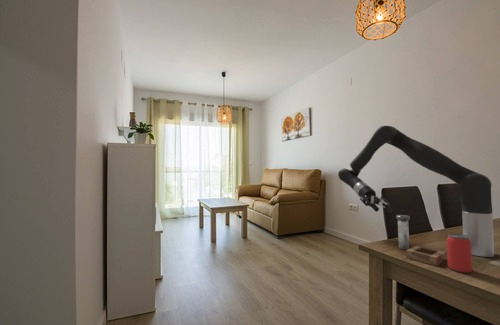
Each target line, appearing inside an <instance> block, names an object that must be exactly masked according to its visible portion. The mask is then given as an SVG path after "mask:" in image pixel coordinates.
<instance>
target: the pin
mask: <svg viewBox="0 0 500 325" xmlns="http://www.w3.org/2000/svg"><path fill="white" fill-rule="evenodd" d="M395 219H397V235H398V236H397V238H398V241H397V242H398V249H401V250H404V249H406V250H408V249H410V236H409V235H410V234H409V220H410V219H411V218H410V215H406V214H405V215H404V214H396V215H395ZM406 250H405V251H406Z"/></svg>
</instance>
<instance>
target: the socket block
mask: <svg viewBox="0 0 500 325" xmlns="http://www.w3.org/2000/svg"><path fill="white" fill-rule="evenodd" d="M405 254H406V257H405V258H406V259H409V260H412V261H413V260H414V261H417V262H421V263H424V264H428V265H430V266H435V267H437V266H439V265H440V264H442V263H444V262H445V261H446V260H447V251H443V250H440V249H439V250H438V249H435V248H434V249H433V248H430V247H426V246H421V245H415V246H413V247H411V248H410V247H409V249H408V250H405Z"/></svg>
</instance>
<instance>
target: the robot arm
mask: <svg viewBox="0 0 500 325" xmlns="http://www.w3.org/2000/svg"><path fill="white" fill-rule="evenodd" d="M385 144H388V145H390V146H392V147H395V148H396V149H398V150H400V151H401V152H403V153H404V155H406V156H407V157H408V158H409V159H410V160H411V161H413V162H415V163H416V164H417V165H420V166H421V167H424V168H425V169H427V170H429V171H431V172H434V173H435V174H439V175H440V176H442V177H443V176H444V177H446V178H448V179H449V180H451V181H453V182H454V183H456V184H457V185H458V186H459V188H460V189H459V190H460V191H459V192H460V204H461V213H462V214H461V215H462V235H466V236H468V237H469V239H470V241H471V248H472V256H473V255H474V256H477V257H485V258H491V257H492V258H493V257H494V256H495V242H494V240H495V239H494V220H493V219H494V218H493V204H492V201H493V200H492V181H491V180H490V178H489V177H487V176H486V175H484V174H481V173H479V172H476V171H474V170H471V169H469V168H467V167H465V166H463V165H461V164H459V163H457V161H454V160H453V159H451V158H450V157H449V156H447V155H446V154H444V153H442V152H440V151H438V150H436V149H435V148H433V147H432V146H429V145H427V144H425V143H422V142H420V141H418V140H417V139H413V138H411V137H410V136H407V135H406V134H404V133H403V132H402V131H400V130H399V129H397V128H396V127H395V126H391V125H381V126H379V127H378V128H377V129H375V132H374V133H373V134H372V136H371V138H370V139H369V140H368V142H367V143H366V145H365V146H364V148H363V149H362V150H361V151H360V152H359V153H358V155H356V156H355V157H354V159H353V160H352V161H350V163H349V166H350V168H351V169H347V168H341V169H340V170H339V171H338V174H337V176H338V179H340V181H342V182H343V183H344V184H346V185H347V186H349V187H350V188H351V189H352V190H353V191H354V192H355V193H356V194H357V196H358V197H359V200H360V201H361V202H362V203H363V204H364V205H365V207H370V208H372V209H373V211H375V212H379V210H380V208H379V207H383V208H384V209H385V210H386V211H387V212H389V213H392V212H393V210H394V209H393V208H392V207H391V202H389V201H388V200H387V199H386V198H385V197H383V196H380V197H379V196H377V193H376V191H375V190H374V189H373V188H372V187H371V186H370V185H369V184H367V183H366V182H365V181H363V179H361V178H360V177H358V176H359V175H360V173H361V171H362V170H363V169H364V168H365V167H366V166H367V164H368V163H369V162H370V161H371V159H372V158H373V156H374V154H375V153H376V152H377V151H378V150H379V149H380V148H381V147H382V146H384V145H385Z"/></svg>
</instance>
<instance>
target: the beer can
mask: <svg viewBox="0 0 500 325" xmlns="http://www.w3.org/2000/svg"><path fill="white" fill-rule="evenodd" d="M447 236H448V237H447V239H446V260H447V267H448V268H449V269H450V270H451V271H455V272H458V273H463V274H468V273H472V272H473V255H472V248H471V241H470V239H469V237H468V236H466V235H463V233H462V234H461V233H448V235H447Z"/></svg>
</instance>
